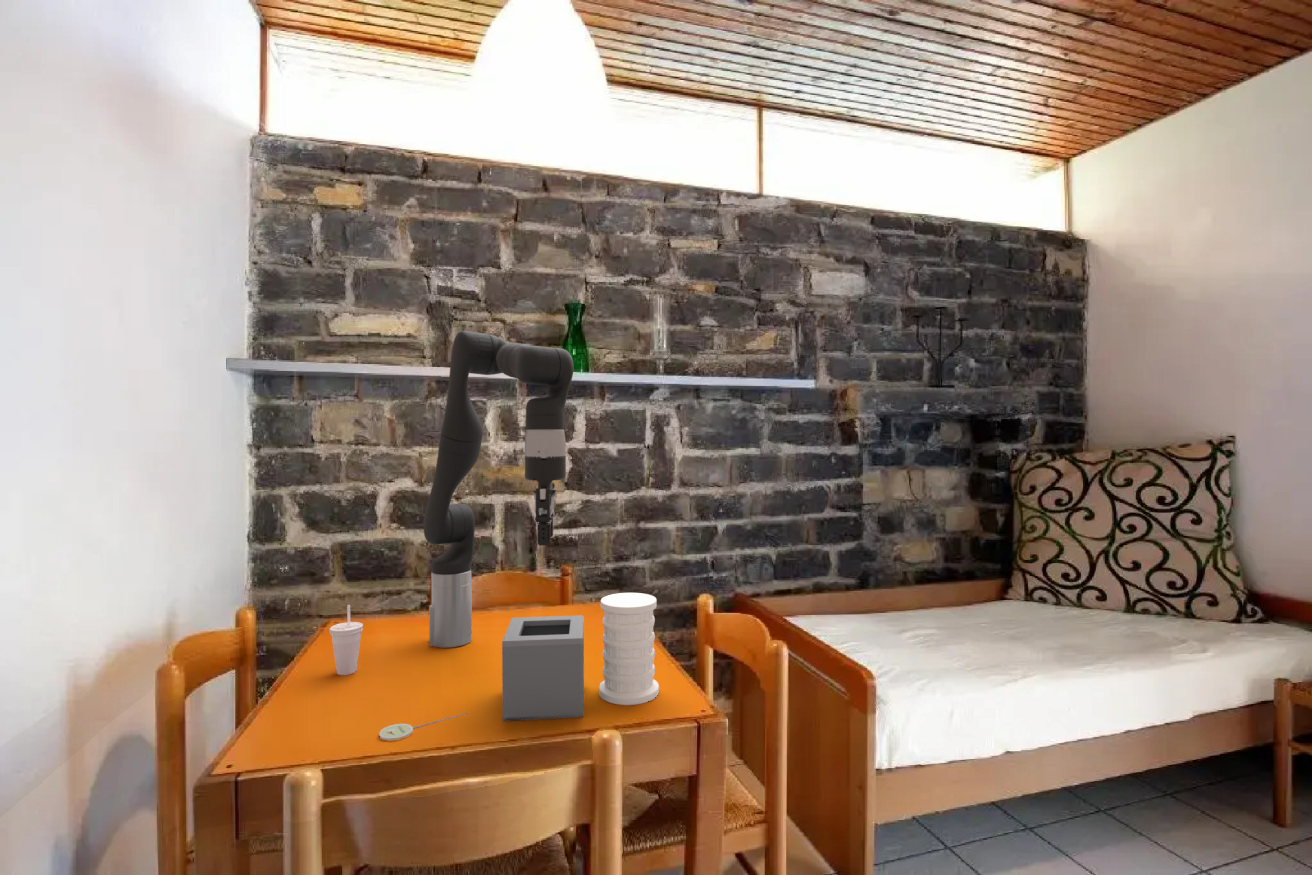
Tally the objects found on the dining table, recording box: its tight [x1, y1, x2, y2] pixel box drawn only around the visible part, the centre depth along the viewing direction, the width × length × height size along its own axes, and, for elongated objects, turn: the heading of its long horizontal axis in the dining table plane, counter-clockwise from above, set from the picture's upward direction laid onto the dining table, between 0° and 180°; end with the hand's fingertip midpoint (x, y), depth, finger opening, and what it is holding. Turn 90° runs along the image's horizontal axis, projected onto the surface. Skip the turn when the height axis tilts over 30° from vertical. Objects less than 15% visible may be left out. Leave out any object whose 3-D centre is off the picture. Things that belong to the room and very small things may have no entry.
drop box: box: [501, 614, 585, 722], centre depth 116 cm, size 14×14×14 cm
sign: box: [378, 712, 469, 741], centre depth 107 cm, size 5×1×15 cm
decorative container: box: [598, 592, 660, 706], centre depth 121 cm, size 12×12×18 cm
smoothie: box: [329, 604, 364, 676], centre depth 131 cm, size 6×6×14 cm
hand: (545, 540), depth 116 cm, fingers open, 8 cm apart
